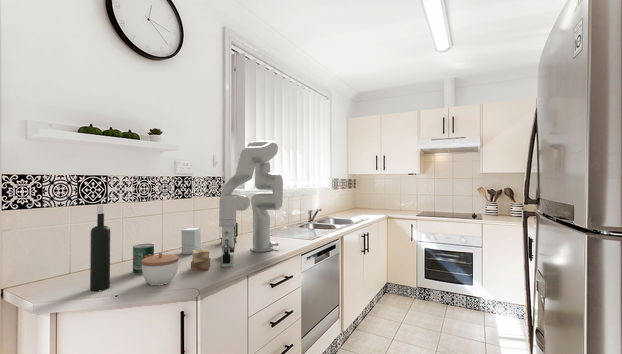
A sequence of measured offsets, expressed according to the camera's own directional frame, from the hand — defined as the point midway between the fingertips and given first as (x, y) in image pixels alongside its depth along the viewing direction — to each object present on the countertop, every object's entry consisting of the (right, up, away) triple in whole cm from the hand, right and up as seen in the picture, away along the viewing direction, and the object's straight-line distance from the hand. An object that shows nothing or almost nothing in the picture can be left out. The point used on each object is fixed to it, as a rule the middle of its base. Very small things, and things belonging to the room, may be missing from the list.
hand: (227, 260), depth 138 cm
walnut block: (-10, -2, -6) cm, 12 cm away
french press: (-12, -3, +50) cm, 51 cm away
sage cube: (0, -2, 0) cm, 2 cm away
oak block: (-10, +2, -6) cm, 12 cm away
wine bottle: (-37, -2, -30) cm, 48 cm away
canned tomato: (-32, -2, -10) cm, 34 cm away
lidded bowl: (-19, -2, -24) cm, 30 cm away
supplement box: (-26, -2, +24) cm, 35 cm away
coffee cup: (-4, -2, +17) cm, 17 cm away
